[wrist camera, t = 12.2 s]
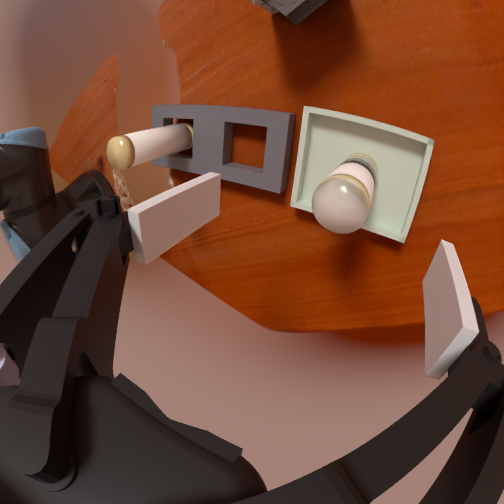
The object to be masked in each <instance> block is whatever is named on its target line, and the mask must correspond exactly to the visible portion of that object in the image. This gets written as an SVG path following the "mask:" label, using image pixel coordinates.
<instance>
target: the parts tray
mask: <svg viewBox="0 0 504 504" xmlns="http://www.w3.org/2000/svg"><path fill="white" fill-rule="evenodd" d="M433 145H434V140H433V139H431V138H428V137H425V136H422V135H420V134H417V133H414V132H411V131H408V130H405V129H402V128H398V127H395V126H392V125H389V124H385V123H382V122H378V121H374V120H371V119H367V118H363V117H359V116H355V115H351V114H346V113H342V112H337V111H332V110H327V109H322V108H316V107H311V106H304V109H303V118H302V125H301V133H300V141H299V148H298V156H297V163H296V170H295V177H294V184H293V190H292V197H291V204H290V206H292V207H295V208H298V209H302V210H305V211H308V212H312V213H313V210H312V196H313V193H314V191H315V189H316V188H317V186H318V185H319V184H320V183H321V182H322V181H323V180H324V179H326V178H327V177H328V176H329V175H330V174H331V173H332V172H333V171H334V170H335V169H336V168H337V167H338V166H339V165H340V164H341V163H342V162H344V161H345V160H346V159H347V158H348V157H349V156H350V155H352V154H355V153H363V154H366V155H368V156H370V157H371V158H372V159H373V160H374V161H375V163H376V165H377V167H378V177H377V181H376V186H375V190H374V193H373V197H372V201H371V205H370V210H369V213H368V217H367V219H366V221H365V223H364V224H363V225H362V226H361V227H360V228H362V229H365V230H368V231H371V232H374V233H377V234H379V235H382V236H385V237H388V238H391V239H394V240H396V241H399V242H402V243H404V242H405V240H406V237H407V234H408V231H409V229H410V226H411V223H412V220H413V217H414V214H415V211H416V208H417V205H418V202H419V198H420V195H421V192H422V188H423V185H424V181H425V178H426V174H427V170H428V166H429V162H430V158H431V154H432V150H433Z"/></svg>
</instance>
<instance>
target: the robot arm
mask: <svg viewBox="0 0 504 504" xmlns="http://www.w3.org/2000/svg"><path fill="white" fill-rule="evenodd" d="M48 151H49V148H48V147H47V141H46V134H45V132H44V130H43V129H42V128H40V127H31V128H24V129H20V130H14V131H10V132H7V133H3V134H0V211H3V214H4V218H5V219H3V220H2V221H1V222H0V228H1V231H2V234H3V236H4V238H5V240H6V242H7V244H8V246H9V248H10V250H11V252H12V253H13V255H14V257H15V259H16V260H17V262H18V263H19V264H18V265H17V266H16V267H15V268H14V269H13V270H12V272H11V273H10V274H9V275H8V276H7V277H6V279H5V280H4V281H3V282H2V283H1V285H0V504H370V503H371V502H372V501H373V500H374V499H375V498H377V497H378V496H380V495H381V494H382V493H384V492H385V491H386V490H388V489H389V488H390V487H392V486H393V485H394V484H395V483H397V482H398V481H399V480H400V479H402V478H403V477H404V476H405V475H406V474H407V473H408V472H410V471H411V470H412V469H413V468H414V467H416V466H417V465H418V464H419V463H420V462H421V461H422V460H423V459H424V458H425V457H426V456H428V455H429V454H430V453H431V452H432V451H433V450H434V449H435V448H436V446H438V445H439V444H440V443H441V442H442V440H443V439H444V438H445V437H446V436H447V435H448V434H449V433H450V432H451V431H452V430H453V428H454V427H455V426H456V425H457V424H458V423H459V422H460V420H461V419H462V418H463V417H464V415H465V414H466V413H467V412H468V411H469V409H470V408H472V409H473V412H472V414H471V416H470V418H469V420H468V423H467V425H466V427H465V429H464V431H463V433H462V435H461V437H460V439H459V441H458V443H457V445H456V447H455V449H454V450H453V452H452V454H451V456H450V457H449V459H448V461H447V463H446V464H445V466H444V468H443V469H442V471H441V472H440V474H439V476H438V477H437V479H436V480H435V482H434V483H433V485H432V486H431V488H430V489H429V490H428V492H427V493H426V495H425V496H424V497H423V499H422V500H421V501H420V503H419V504H497V502H498V500H499V498H500V496H501V494H502V492H503V489H504V365H503V364H502V363H501V361H502V358H501V354H500V351H499V349H498V348H497V347H496V345H494V344H493V343H492V342H490V341H489V340H488V335H487V331H486V327H485V323H484V318H483V316H482V311H481V307H480V305H479V304H478V302H477V300H476V299H475V298H474V297H471V296H470V293H469V290H468V286H467V283H466V280H465V277H464V274H463V270H462V268H461V265H460V262H459V259H458V256H457V253H456V251H455V248H454V245H453V244H451V243H449V242H446V241H444V240H441V242H440V244H439V246H438V249H437V251H436V253H435V256H434V258H433V260H432V262H431V265H430V267H429V269H428V271H427V273H426V275H425V277H424V279H423V281H422V282H423V293H424V308H425V338H426V339H425V341H426V342H425V343H426V346H425V347H426V348H425V375H426V376H429V377H432V378H436V379H440V378H441V377H442V376H443V375H444V374H445V373H446V372H447V371H448V377H447V378H446V379H445V380H444V381H443V382H442V383H441V384H440V385H439V386H438V387H437V388H436V389H435V390H433V391H432V392H431V393H430V394H429V395H428V396H427V397H426V398H425V399H423V400H422V401H421V402H420V403H419V404H418V405H416V406H415V407H414V408H413V409H412V410H410V411H409V412H408V413H407V414H405V415H404V416H403V417H402V418H400V419H399V420H398V421H397V422H395V423H394V424H393V425H391V426H390V427H388V428H387V429H385V430H384V431H383V432H381V433H380V434H378V435H377V436H375V437H374V438H373V439H371V440H369V441H368V442H367V443H365V444H364V445H362V446H360V447H359V448H357V449H355V450H354V451H352V452H350V453H349V454H347V455H345V456H344V457H342V458H340V459H338V460H336V461H334V462H331V463H329V464H328V465H326V466H324V467H322V468H320V469H318V470H316V471H314V472H312V473H310V474H308V475H306V476H303V477H301V478H299V479H297V480H294V481H292V482H290V483H288V484H285V485H283V486H280V487H278V488H276V489H273V490H270V491H267V488H266V486H265V484H264V481H263V480H262V478H261V476H260V474H259V473H258V472H257V471H256V469H255V468H254V467H253V466H252V465H251V464H250V463H249V462H248V461H247V460H246V459H245V458H243V457H242V456H241V455H242V450H243V449H242V448H240V447H238V446H236V445H234V444H232V443H230V442H228V441H226V440H224V439H222V438H219V437H218V436H216V435H214V434H212V433H210V432H208V431H206V430H202V429H199V428H196V427H192V426H189V425H186V424H183V423H180V422H177V421H174V420H171V419H169V418H168V417H166V415H165V414H164V413H162V411H161V410H160V409H159V408H158V407H157V406H156V404H155V403H154V402H153V401H152V399H151V398H150V397H149V396H148V395H147V393H146V392H145V391H144V390H142V389H141V388H139V387H138V386H137V385H135V384H134V383H133V382H131V381H130V380H129V379H128V378H126V377H125V376H124V375H122V374H121V373H120V374H119V375H118V376H117V377H116V378H115V379H114V375H113V358H114V349H115V340H116V333H117V325H118V319H119V312H120V306H121V300H122V294H123V289H124V284H125V279H126V274H127V269H128V265H129V253H130V252H131V251H133V250H134V254H135V260H136V261H138V262H140V263H142V264H144V265H147V264H149V263H150V262H151V261H153V260H154V259H155V258H157V257H158V256H160V255H161V254H163V253H164V252H165V251H167V250H168V249H170V248H171V247H173V246H174V245H175V244H177V243H178V242H180V241H181V240H183V239H184V238H186V237H187V236H188V235H190V234H191V233H193V232H194V231H196V230H197V229H199V228H200V227H202V226H203V225H205V224H206V223H208V222H209V221H211V220H212V219H214V218H215V217H217V216H218V215H219V211H220V183H221V174H218V173H213V172H209V173H207V174H204V175H202V176H199V177H197V178H195V179H192V180H190V181H188V182H185V183H183V184H181V185H179V186H176V187H174V188H172V189H170V190H167V191H165V192H163V193H161V194H159V195H157V196H154V197H152V198H150V199H148V200H146V201H144V202H142V203H140V204H138V205H136V206H134V207H132V208H130V209H128V211H126V212H124V213H122V211H121V204H120V197H119V196H117V195H114V193H113V190H112V188H111V186H110V184H109V183H108V181H107V180H106V178H105V177H104V176H103V175H102V174H101V173H100V172H98V171H96V170H90V171H87V172H85V173H83V174H81V175H80V176H78V177H77V178H76V179H75V180H74V181H73V182H71V183H70V184H69V185H68V186H67V187H66V188H65V189H64V190H62V191H60V192H58V193H56V194H55V189H54V185H53V179H52V174H51V167H50V160H49V152H48ZM74 246H75V247H76V250H75V251H74V252H73V250H72V248H73V247H74ZM1 343H2V345H1ZM20 378H21V379H20Z"/></svg>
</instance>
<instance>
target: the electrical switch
mask: <svg viewBox="0 0 504 504" xmlns="http://www.w3.org/2000/svg"><path fill="white" fill-rule="evenodd" d="M250 1H251V2H252V3H253V4H255V5H259V6H261V7H262V8H264V9H266V10H267V11H269V12H270V13H272V14H276V13H278V12H280V13H281V14H282V15H284V16H285V17H287V18H288V19H289V20H291V21H292V22H294V23H295V24H296V23H297V24H299V23H300V22H301V21H302V20H304V19H305V18H306V17H307V16H308V15H310V14H311V13H312V12H314V11H315V10H316V9H317V8H319V7H320V6H321V5H323V4H324V3H325V2H327V1H328V0H306V1H307V2H308V3H307V2H305V0H250ZM308 4H309V5H308Z"/></svg>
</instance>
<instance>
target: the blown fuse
mask: <svg viewBox="0 0 504 504" xmlns="http://www.w3.org/2000/svg"><path fill="white" fill-rule="evenodd" d="M377 177H378V167H377V165H376V163H375V161H374V160H373V159H372V158H371V157H370V156H368V155H366V154H363V153H355V154H352V155H350V156H349V157H348V158H347V159H346V160H345V161H344V162H342V163H341V164H340V165H339V166H338V167H337V168H336V169H335V170H334V171H333V172H332V173H331V174H330V175H329V176H328V177H327V178H326V179H324V180H323V181H322V182H321V183H320V184H319V185H318V186H317V188H316V189H315V191H314V193H313V196H312V210H313V213H314V216H315V218H316V219H317V221H318V222H319V223H320V224H321V225H322V226H323V227H324V228H326V229H327V230H329V231H331V232H334V233H338V234H348V233H352V232H354V231H356V230H358V229H359V228H360V227H361V226H362V225H363V224H364V223H365V221H366V219H367V217H368V213H369V210H370V205H371V201H372V197H373V193H374V190H375V186H376V181H377Z"/></svg>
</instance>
